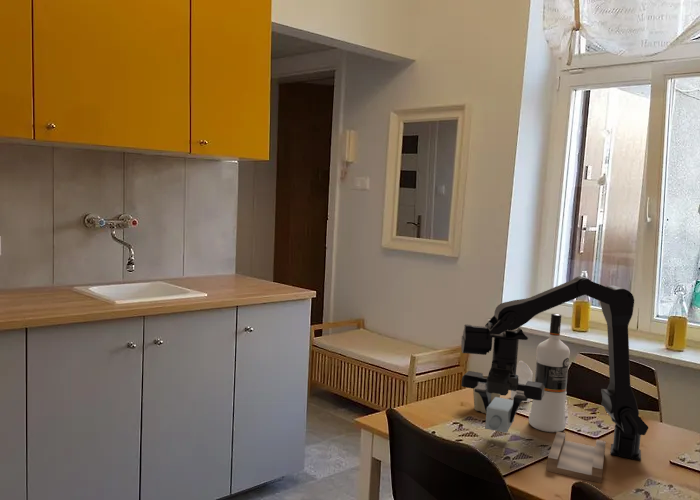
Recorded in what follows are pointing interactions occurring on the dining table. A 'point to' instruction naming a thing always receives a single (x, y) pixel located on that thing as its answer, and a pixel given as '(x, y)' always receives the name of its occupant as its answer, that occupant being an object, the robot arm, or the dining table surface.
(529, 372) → the white pointed cylinder
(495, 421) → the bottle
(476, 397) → the flower pot
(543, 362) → the vodka
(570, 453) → the u rest
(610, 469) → the dining table surface
